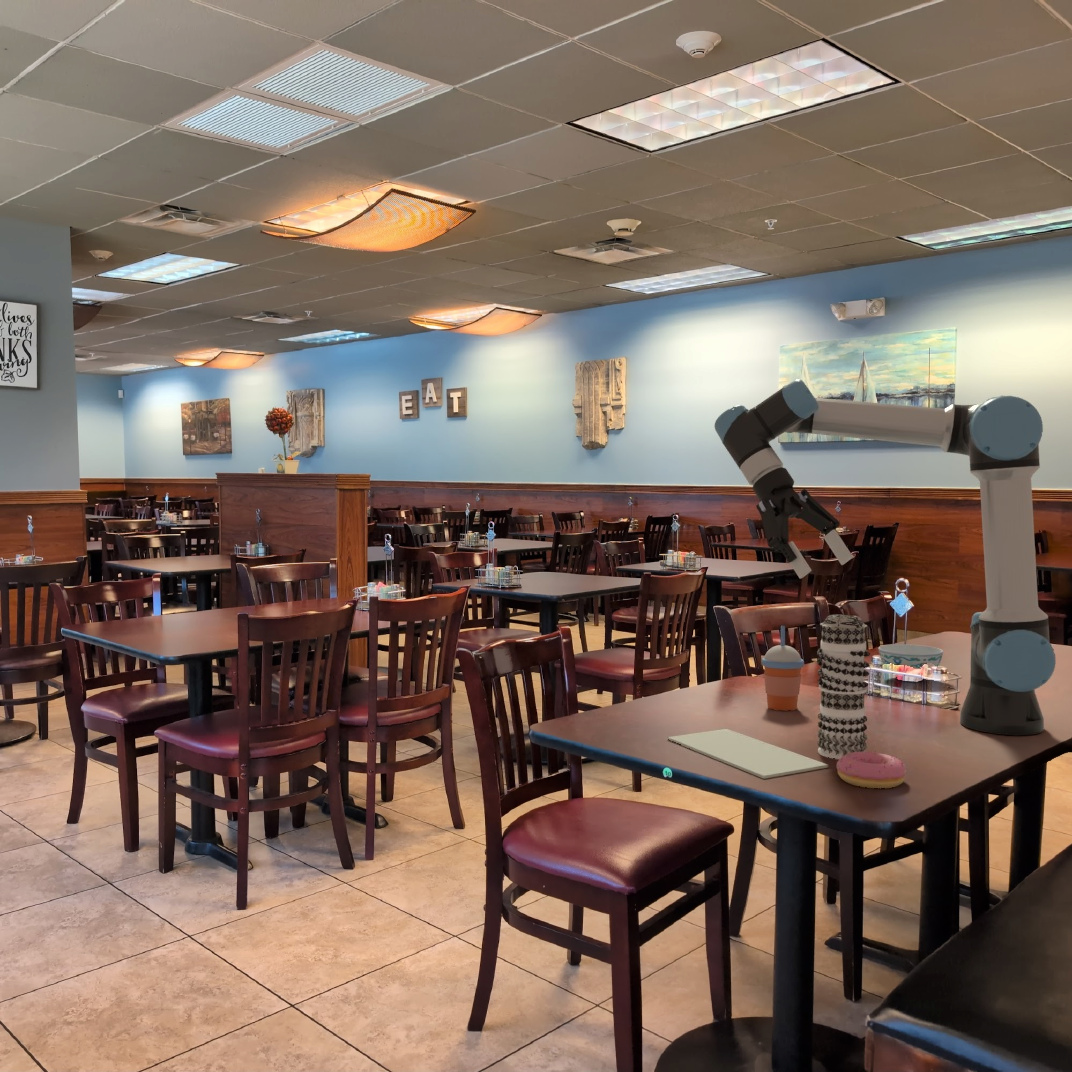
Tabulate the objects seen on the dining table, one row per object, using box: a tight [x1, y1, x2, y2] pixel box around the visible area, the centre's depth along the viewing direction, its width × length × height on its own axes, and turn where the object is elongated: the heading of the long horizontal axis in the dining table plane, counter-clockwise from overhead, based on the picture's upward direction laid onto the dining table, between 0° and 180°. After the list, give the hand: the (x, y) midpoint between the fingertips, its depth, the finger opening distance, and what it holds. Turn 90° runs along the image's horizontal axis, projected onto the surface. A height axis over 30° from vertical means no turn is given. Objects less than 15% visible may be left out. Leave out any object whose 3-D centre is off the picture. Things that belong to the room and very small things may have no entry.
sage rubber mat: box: [667, 728, 829, 779], centre depth 176 cm, size 28×14×1 cm, turn 27°
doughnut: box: [836, 751, 908, 790], centre depth 160 cm, size 11×11×4 cm
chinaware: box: [878, 643, 944, 668], centre depth 242 cm, size 15×15×8 cm
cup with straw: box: [760, 625, 805, 712], centre depth 212 cm, size 9×9×18 cm
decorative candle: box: [816, 614, 871, 760], centre depth 175 cm, size 9×9×25 cm
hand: (827, 567), depth 184 cm, fingers open, 13 cm apart
